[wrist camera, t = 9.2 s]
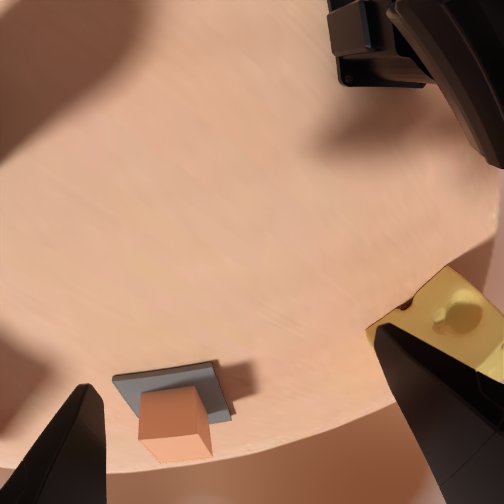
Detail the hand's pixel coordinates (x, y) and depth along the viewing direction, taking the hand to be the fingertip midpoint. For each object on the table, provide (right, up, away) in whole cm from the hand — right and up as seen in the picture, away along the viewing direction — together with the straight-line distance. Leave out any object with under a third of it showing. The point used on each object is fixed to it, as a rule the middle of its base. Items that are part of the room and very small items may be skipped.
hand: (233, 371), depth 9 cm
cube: (-7, -11, +18) cm, 22 cm away
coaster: (-7, -10, +18) cm, 22 cm away
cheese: (+17, -3, +20) cm, 26 cm away
